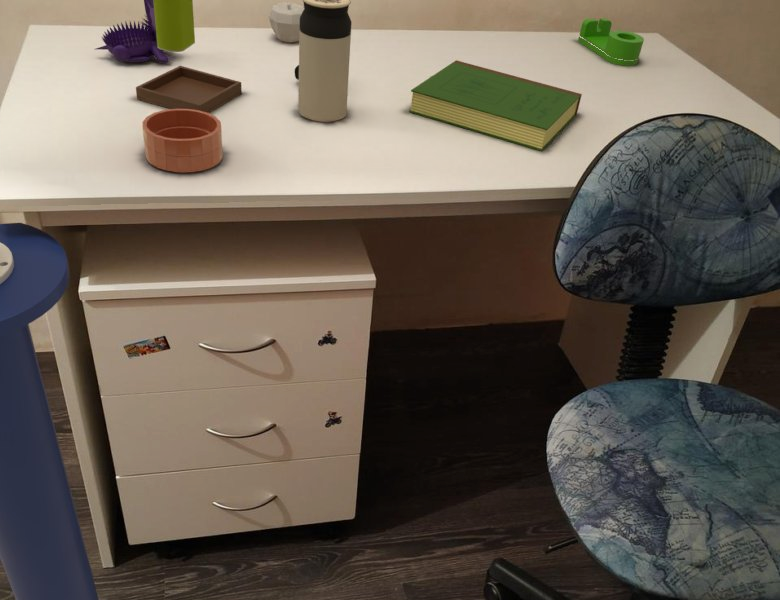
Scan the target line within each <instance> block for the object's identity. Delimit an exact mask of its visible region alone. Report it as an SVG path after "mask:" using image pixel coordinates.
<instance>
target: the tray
mask: <svg viewBox="0 0 780 600" xmlns="http://www.w3.org/2000/svg"><path fill="white" fill-rule="evenodd" d="M242 90H243V89H242V81H239V80H235V79H231V78H227V77H224V76H220V75H216V74H213V73H209V72H205V71H201V70H198V69H194V68H190V67H187V66H183V65H178V66H177V67H175V68H173V69H170V70H168V71H166V72H164V73H161V74H160V75H158V76H156V77H154V78H152V79H150V80H148V81H146V82H144V83H141V84H139V85H137V86H136V87H135V93H136V100H138V101H141V102H144V103H145V102H146V103H149V104H152V105H155V106H159V107H162V108H166V109H168V110H169V109H193V110H199V111H203V112H206V113H209V114H210V113H211V112H212V111H215V110H217V109H218V108H220V107H221V106H223V105H225V104H227V103H229V102H230V101H232V100H233V99H235V98H237V97H238V96H241V95H242V93H243V92H242Z"/></svg>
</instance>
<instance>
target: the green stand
mask: <svg viewBox="0 0 780 600" xmlns="http://www.w3.org/2000/svg"><path fill="white" fill-rule="evenodd" d="M611 21H612V20H609V19H608V18H606V17H603V18H602V17H600V18H599V20H598V19H596V18H585V19H584V20H583V21H582V23H581V27H580V31H579V35H580V36H581V37H583V38H584V39H586V40H587V41H589V42H590V43H592V44H593V45H595V46H596V47H598V48H599V49H601V50H602V51H604V52H605V53H606V54H607V55H609V56H611V57H609V56H607V55H606V54H605V53H604V52H602V51H601V50H599V49H598V48H596V47H595V46H593V45H591V44H590V43H588V42H587V41H585V40H584V39H582V38H580V37H578V40H577V42H578V43H579V44H581V45H583V46H584V47H586V48H587V49H589V50H591V51H592V52H594V53H595V54H597V55H598V56H600V57H601V58H603V59H604V60H605V61H606V62H608V63H610V64H614V65H618V66H623V67H625V66H626V67H630V66H631V67H632V66H635V65H637V64H638V61H639V59H640V54H641V52H642V48H643V46H644V45H643V44H644V41H645V38H644V36H641V35H640V34H638V33H634V32H632V31H627V30H613V31H611V30H612V25H613V24H612V22H611ZM612 57H613V58H612ZM614 58H617V59H614ZM618 59H623V60H618ZM635 59H637V60H635ZM624 60H634V61H624Z"/></svg>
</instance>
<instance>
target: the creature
mask: <svg viewBox="0 0 780 600" xmlns="http://www.w3.org/2000/svg"><path fill="white" fill-rule="evenodd" d="M143 4H144V11H145V13H144V15H143V16H144V17H142V18H141V19H142V21H141V22H140V20H138V21H137V24H136V21H135V20H133V25H132V22H131V21H129V25H128V23H127V20H125V21H124V24H125V25H124V24H123V22H122V21H120V25H121V27H120V25H119V23H116V26H115V25H114V24H112V28H111V26H109V29H108V28H106V30H105V31H104V33H103V34H102V36H101V37H100V38H101V40H102V42H103V43H104V44H105V45H101V46H100V47H96V48H95V50H102V51H103V50H106V51H108V52H109V53H110V55H112V56H113V57H114V58H115V60H117V61H118V62H127V63H128V62H129V63H141V62H146V61H149V60H151V59H152V57H154V58H155V60H156V61H157V62H158V63H161V64H165V63H168V62H169V61H171V60H172V59H174V58H175V57H173V56H172V57H171V58H170V55H167V54H164V53H163V52H165V51H164V50H161V49H159V48H158V47H157V36H156V25H155V14H154V3H153V0H143ZM116 27H117V28H116ZM106 31H107V32H106Z"/></svg>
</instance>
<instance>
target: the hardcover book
mask: <svg viewBox="0 0 780 600" xmlns="http://www.w3.org/2000/svg"><path fill="white" fill-rule="evenodd" d="M410 92H411V93H412V94H411V95H412V97H411V105H410V109H408V113H411V114H414V115H418V116H421V117H425V118H428V119H431V120H435V121H438V122H441V123H445V124H448V125H452V126H454V127H458V128H462V129H466V130H468V131H472V132H475V133H479V134H482V135H485V136H489V137H492V138H495V139H499V140H502V141H506V142H509V143H512V144H515V145H520V146H523V147H527V148H529V149H533V150H535V151H540V152H543V151H544V150H545V149H546V148H547V147H548V146H549V145H550V144H551V143H552V142H553V141H554V140H555V138H557V137H558V136H559V134H561V132H562V131H563V130H564V129H565V128H566V127H567V126H568V125H569V124H570V123H571V121H573V119H574V118H575V117H576V116H577V115H578V111H579V108H580V103H581V99H582V95H583V94H582V93H580V92H576V91H571V90H568V89H564V88H561V87H557V86H553V85H549V84H546V83H542V82H539V81H535V80H531V79H528V78H523V77H520V76H517V75H512V74H509V73H505V72H501V71H497V70H494V69H490V68H487V67H483V66H479V65H475V64H471V63H468V62H464V61H461V60H457V59H456V60H454V61H452V62H451V63H450V64H448V65H446V66H445V67H444V68H442V69H441V70H439V71H437V72H436V73H435V74H433V75H431V76H430V77H429V78H426V79H425V80H424V81H423V82H420V83H419V84H418V85H416V86H415V87H413V88H412V89H411V90H410Z"/></svg>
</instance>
